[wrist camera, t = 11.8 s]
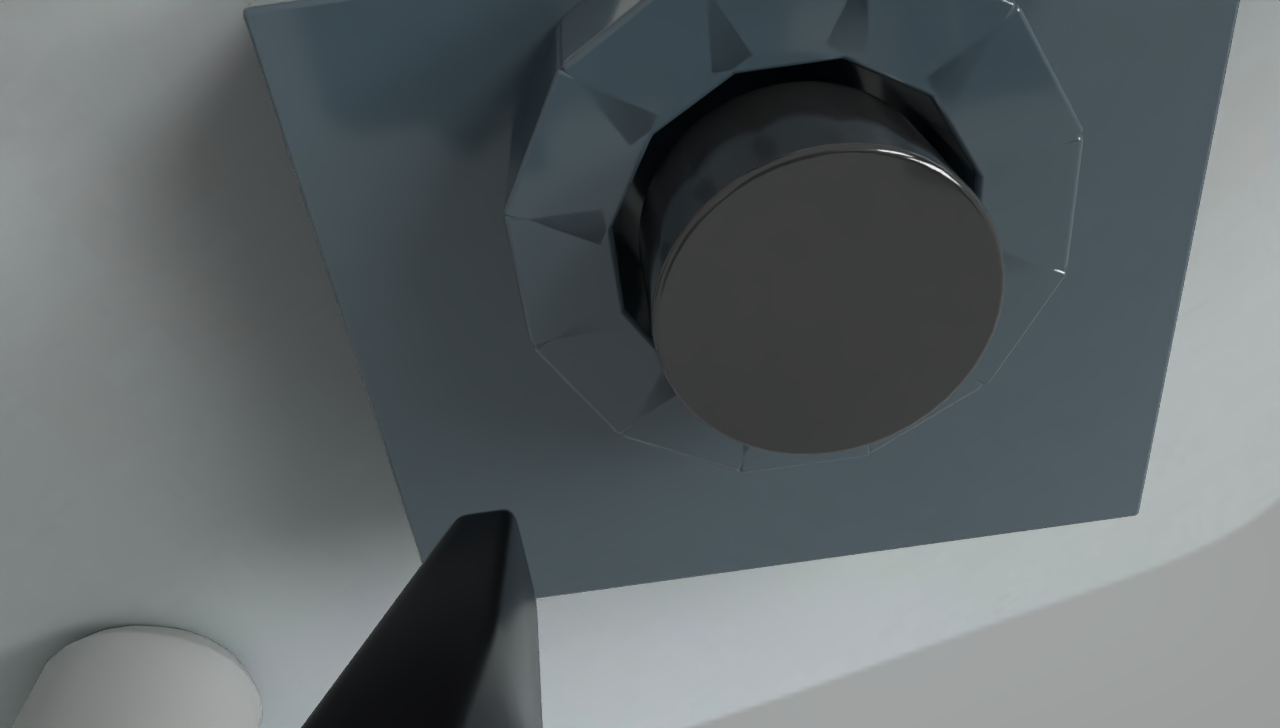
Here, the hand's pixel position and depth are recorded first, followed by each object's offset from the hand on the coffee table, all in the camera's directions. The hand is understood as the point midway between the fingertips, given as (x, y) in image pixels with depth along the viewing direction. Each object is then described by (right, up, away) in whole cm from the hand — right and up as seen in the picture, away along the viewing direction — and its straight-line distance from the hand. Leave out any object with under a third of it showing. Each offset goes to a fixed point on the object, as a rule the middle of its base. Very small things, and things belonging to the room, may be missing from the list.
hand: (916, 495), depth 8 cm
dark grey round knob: (0, +3, +4) cm, 5 cm away
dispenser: (0, +4, +10) cm, 11 cm away
